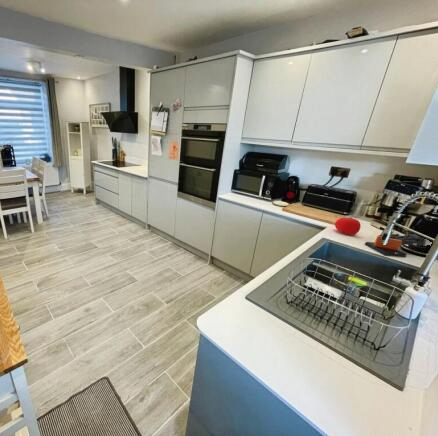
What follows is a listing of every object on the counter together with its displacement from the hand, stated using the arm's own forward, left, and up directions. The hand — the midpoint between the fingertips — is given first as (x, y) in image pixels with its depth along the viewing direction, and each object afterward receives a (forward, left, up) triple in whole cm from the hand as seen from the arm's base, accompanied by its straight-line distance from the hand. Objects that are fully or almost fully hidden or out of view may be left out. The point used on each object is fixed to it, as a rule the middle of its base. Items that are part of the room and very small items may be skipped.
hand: (378, 237), depth 145 cm
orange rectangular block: (-4, 0, -5) cm, 7 cm away
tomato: (+18, -13, -7) cm, 23 cm away
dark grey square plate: (-4, 0, -7) cm, 8 cm away
